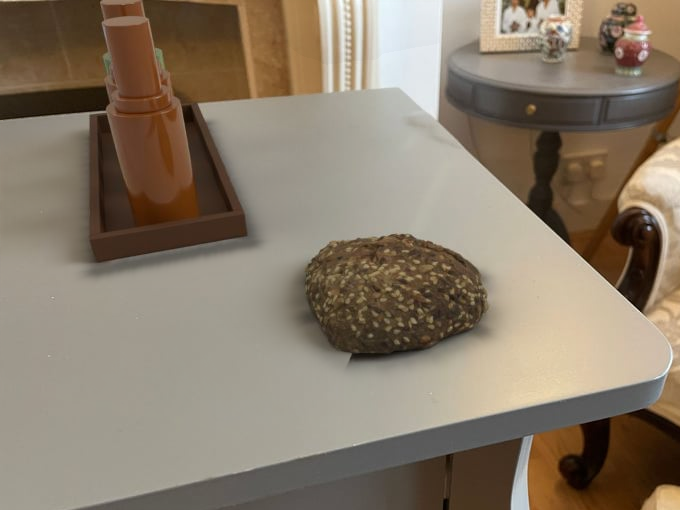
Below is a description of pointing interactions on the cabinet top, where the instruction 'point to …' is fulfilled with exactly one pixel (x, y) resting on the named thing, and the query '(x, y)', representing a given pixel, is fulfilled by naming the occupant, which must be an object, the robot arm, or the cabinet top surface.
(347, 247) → the bread roll
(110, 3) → the amber bottle middle
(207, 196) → the tray
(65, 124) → the cabinet top surface
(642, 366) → the cabinet top surface
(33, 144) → the cabinet top surface
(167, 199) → the amber bottle near
